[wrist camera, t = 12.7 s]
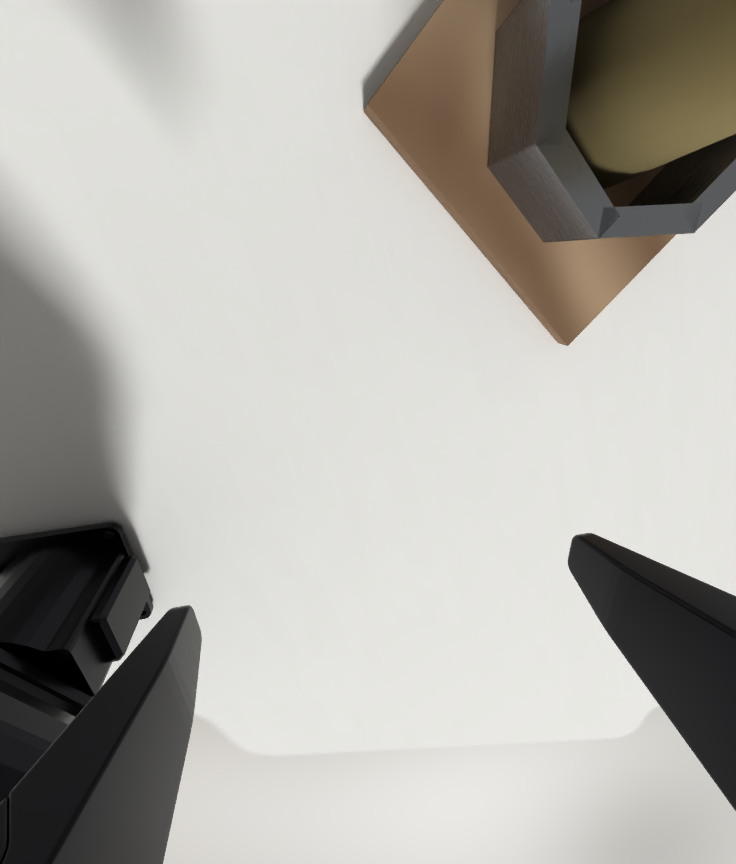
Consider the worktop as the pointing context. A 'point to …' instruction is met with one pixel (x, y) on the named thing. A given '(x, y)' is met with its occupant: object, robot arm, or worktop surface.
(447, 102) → the walnut plate
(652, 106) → the cork
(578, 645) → the worktop surface
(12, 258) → the worktop surface
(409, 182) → the worktop surface
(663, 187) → the metal collar
